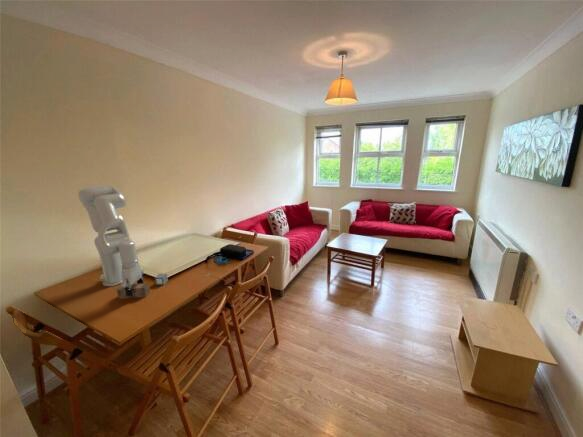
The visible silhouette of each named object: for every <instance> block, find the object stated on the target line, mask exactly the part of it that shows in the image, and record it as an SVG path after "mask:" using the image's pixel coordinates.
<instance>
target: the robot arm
mask: <svg viewBox="0 0 583 437" xmlns="http://www.w3.org/2000/svg"><path fill="white" fill-rule="evenodd" d="M77 194H78V199H79V201H80V203H81V205H82V206H83V207H84V209H85V210H86V212H87V214H88V218H89V220H90V224H91V226H92V229H93V231H94V232H95V233H97V236H96V237H95V238H94V240H93V241H94V243H93V244H94V246H95V248H96V250H97V252H98V255H99V259H100V260H99V261H100V263H101V267H102V272H103V274H101V275H100V277H99V280H103V282H102V286H104V287H114V286H118V285H120V286H121V287H122V288H123V289H124V290H125V291H126V295H127V296H132V295H133V294H132V289H131V285H132V284H143V283H144V275H145V274H144V273H145V270H143V269H141V266H140V263H139V260H138V254H137V247H136V243H135V242H134V241H133V240H132V238H130V234H129V230H128V228H127V224H126V221H125V219H124V217H123V216H122V215H121V214H120V213H119V212H118V210H117V209H121V208H125V207H126V202H127V201H126V198H125V197H124V195H123V194H122V193H121V192H120V191H119V189H117V188H116V187H115V186H113V185H103V186H90V187H84V188H82V189H79V191H78V193H77ZM115 230H116V231H115ZM110 231H111V232H110ZM112 231H114V232H112ZM106 232H108V233H106ZM128 285H129V287H127V286H128Z"/></svg>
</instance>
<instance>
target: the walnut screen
mask: <svg viewBox="0 0 583 437" xmlns="http://www.w3.org/2000/svg"><path fill="white" fill-rule="evenodd" d="M127 287H129V285H128V286H127ZM131 289H132V294H133V295H132V296H127V295H126V291H125V290H124V289H123V288H122V287H121V285H120V286H119V287H118V288H117V289H116V293H117V297H118V300H124V299H125V300H128V299H137V298H138V299H139V298H146V297H147V296H148V295H149V294H150V286H149V283H147V282H146V283H144V282H143V284H138V283H134V284H132V285H131Z"/></svg>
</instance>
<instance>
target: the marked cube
mask: <svg viewBox="0 0 583 437" xmlns="http://www.w3.org/2000/svg"><path fill="white" fill-rule="evenodd" d="M154 282H155V285H156V286H165V285H166V284H167V283H168V282H169V277H168V273H158V274H157V275H156V276H155V277H154Z"/></svg>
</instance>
